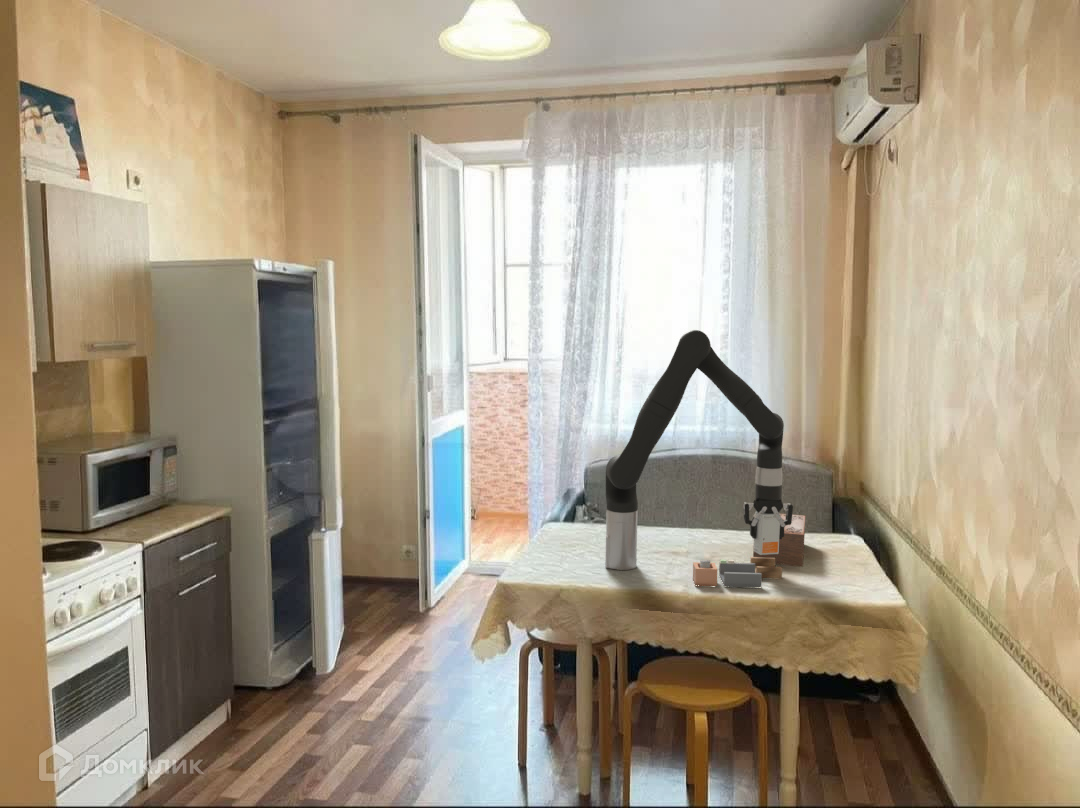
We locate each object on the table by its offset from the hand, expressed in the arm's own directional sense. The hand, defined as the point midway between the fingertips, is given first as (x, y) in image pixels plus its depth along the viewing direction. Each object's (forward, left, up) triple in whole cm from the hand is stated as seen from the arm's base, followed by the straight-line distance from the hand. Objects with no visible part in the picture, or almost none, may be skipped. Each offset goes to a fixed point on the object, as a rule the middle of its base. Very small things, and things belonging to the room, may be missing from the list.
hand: (766, 538), depth 240 cm
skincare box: (0, 0, -5) cm, 5 cm away
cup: (-19, -11, -10) cm, 24 cm away
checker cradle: (-9, -9, -10) cm, 17 cm away
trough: (0, 0, -10) cm, 10 cm away
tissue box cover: (+9, +22, -11) cm, 26 cm away
